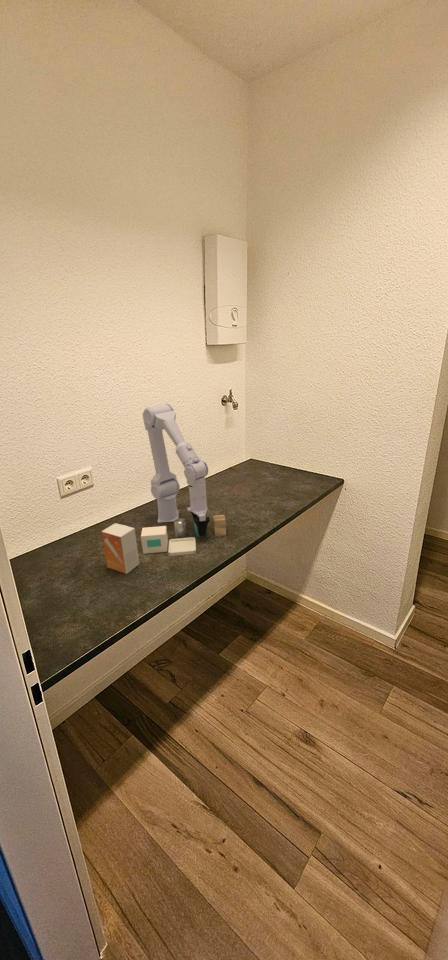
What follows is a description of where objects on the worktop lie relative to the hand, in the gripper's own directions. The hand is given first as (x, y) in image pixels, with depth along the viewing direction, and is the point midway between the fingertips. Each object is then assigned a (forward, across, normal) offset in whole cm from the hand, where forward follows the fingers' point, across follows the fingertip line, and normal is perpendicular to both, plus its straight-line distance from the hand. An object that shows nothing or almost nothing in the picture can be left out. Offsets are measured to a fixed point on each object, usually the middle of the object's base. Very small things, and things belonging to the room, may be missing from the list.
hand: (200, 530), depth 141 cm
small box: (+2, +13, -27) cm, 30 cm away
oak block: (+2, +1, +7) cm, 7 cm away
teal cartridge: (+2, 0, 0) cm, 2 cm away
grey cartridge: (+2, -1, -7) cm, 7 cm away
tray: (+2, +8, -8) cm, 11 cm away
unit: (+2, +5, -16) cm, 17 cm away
